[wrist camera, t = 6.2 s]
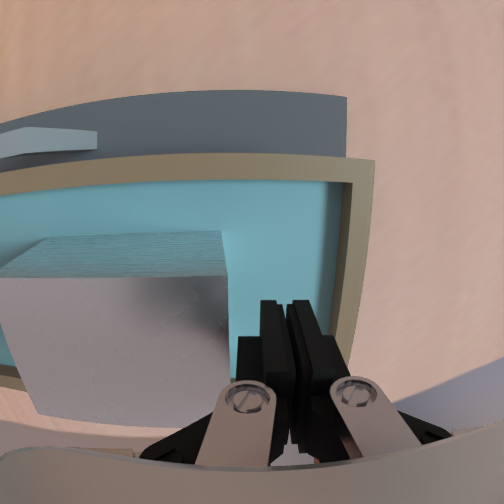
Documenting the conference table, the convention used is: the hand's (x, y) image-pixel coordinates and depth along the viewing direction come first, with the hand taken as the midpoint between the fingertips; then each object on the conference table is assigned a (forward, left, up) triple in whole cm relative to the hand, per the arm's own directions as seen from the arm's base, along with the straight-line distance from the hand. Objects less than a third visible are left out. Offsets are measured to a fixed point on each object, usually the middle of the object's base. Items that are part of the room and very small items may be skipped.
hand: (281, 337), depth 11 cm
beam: (-12, 0, -4) cm, 13 cm away
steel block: (-6, 0, -3) cm, 7 cm away
